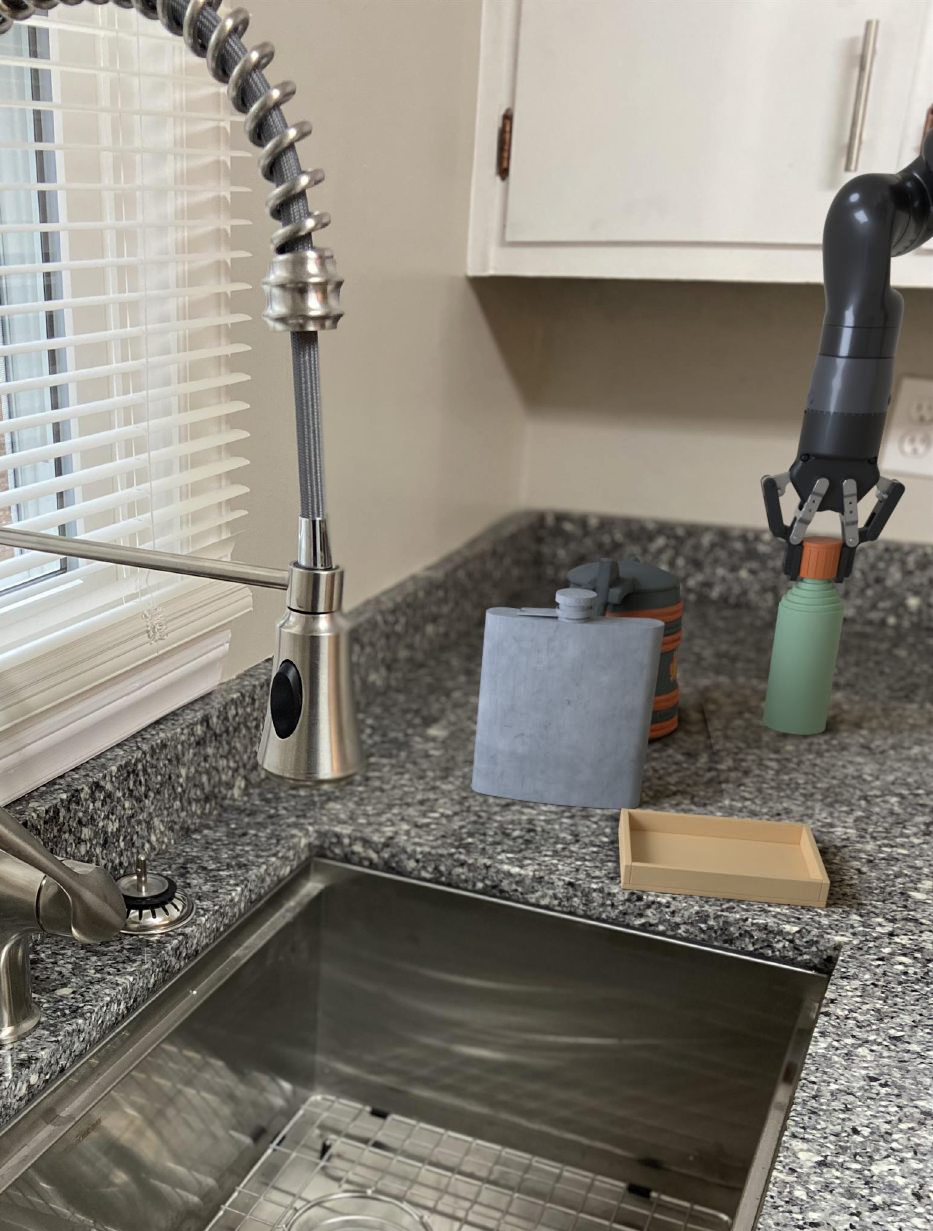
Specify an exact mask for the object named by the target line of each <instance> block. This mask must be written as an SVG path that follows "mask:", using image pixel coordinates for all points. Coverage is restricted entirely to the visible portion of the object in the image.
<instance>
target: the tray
mask: <svg viewBox="0 0 933 1231" xmlns="http://www.w3.org/2000/svg"><path fill="white" fill-rule="evenodd" d="M617 832H618V846H619V847H618V848H619V867H620V868H619V869H620V886H621V889H622V890H631V891H641V892H650V893H651V892H653V893H664V894H673V895H684V896H693V897H705V898H716V899H725V900H737V901H747V902H757V903H766V904H767V903H768V904H777V905H779V904H780V905H788V904H790V906H801V907H809V906H811V908H821V909H825V908H826V906H827V902H828V897H829V891H830V887H831V881H830V878H829V875H828V872H827V870H826V867H825V864H824V861H823V859H822V855H821V852H820V851H819V848H818V845H817V842H816V839H815V836H814V834H813V831H812V827H811V826H810V824H809V823H801V822H787V821H777V820H763V819H754V818H741V817H730V816H718V815H707V814H706V815H705V814H697V813H695V814H693V813H683V812H671V811H659V810H646V809H636V808H633V809H624V808H622V809H620V817H619V825H618V830H617Z"/></svg>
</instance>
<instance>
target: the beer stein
mask: <svg viewBox="0 0 933 1231" xmlns="http://www.w3.org/2000/svg"><path fill="white" fill-rule="evenodd" d="M566 578H567V580H568V581H569V582H570V585H569V588H578V589H586V590H591V591H594V592H595V593H597V600H596V604H594V605H591V606H592V607H593V610H592V615H591V616H605V617H627V618H651V619H656V620H660V621H662V622H664V624H665V626H664V633H663V640H662V647H661V654H660V661H659V668H658V675H657V682H656V689H655V696H654V703H653V710H652V717H651V724H650V731H649V738H648V742H650V741H655V740H658V739H660V738H663V737H665V736H667V735H670V733H672V732H674V730H675V729H677V727H678V723H679V721H678V716H679V714H678V710H679V709H678V708H679V701H680V700H679V699H680V684H679V683H678V681H677V680H678V678H677V677H678V655H679V654H678V653H679V652H678V651H679V646H680V645H681V644H682V640H683V638H682V634H683V628H682V626H683V623H682V622H683V607H684V601H683V599H682V598H681V582H680V580H679V577H677V576H676V575H674V574H673V573H671V572H669V571H667V570H665V569H663V568H660V567H657V566H656V565H652V564H649V563H644V562H641V560H640V559H639V557H638V556H635V555H634V556H632V557H631V558H630V559H628V560H616V559H613V558H609V557H602V558H600V560H599V561H594V562H589V563H585V564H582V565H581V564H580V565H579V566H576V567H574V568H572V569H570V570H569V571H568V572H566Z"/></svg>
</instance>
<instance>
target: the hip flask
mask: <svg viewBox="0 0 933 1231" xmlns="http://www.w3.org/2000/svg"><path fill="white" fill-rule="evenodd" d="M596 600H597V593H595V592H594V591H591V590H586V589H578V588H570V587H568V588H561V589H557V591H556V593H555V602H556V603H558V604H559V605H556V607H555V608H548V607H547V608H545V607H543V608H542V607H521V608H513V607H508V606H507V607H506V606H494V607H491V608H487V609H486V611H485V620H484V621H485V622H484V623H485V624H484V633H483V635H484V636H483V647H482V657H481V658H482V659H481V671H480V682H479V695H478V705H477V719H476V728H475V729H476V731H475V741H474V742H475V743H474V754H473V766H472V777H471V778H472V779H471V789H472V790H473V791H474V792H476V793H477V794H482V795H486V796H491V797H496V798H497V797H498V798H504V799H510V800H517V801H522V802H528V803H530V802H531V803H538V804H546V805H547V804H548V805H555V806H567V807H577V808H590V809H591V808H592V809H606V810H607V809H608V810H609V809H610V810H621V809H622V808H624V809H636V808H638V807H639V806H640V800H641V795H642V787H643V780H644V772H645V766H646V758H647V752H648V745H649V741H648V738H649V731H650V724H651V717H652V710H653V703H654V696H655V689H656V682H657V675H658V668H659V661H660V654H661V647H662V640H663V633H664V626H665V624H664V622H662V621H660V620H656V619H651V618H627V617H605V616H591V615H592V610H593V607H592V606H591V605H594V604H596Z"/></svg>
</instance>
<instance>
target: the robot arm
mask: <svg viewBox="0 0 933 1231" xmlns="http://www.w3.org/2000/svg"><path fill="white" fill-rule="evenodd" d="M921 147H922V148H921V153H920V154H919V155H917V157H916V158H915V159H913V160H912V161H911V162H910V163H909V164H908V165H906V166H905V167H904V168H902V169H901V170H899V171H898V172H896V173H883V172H882V173H881V172H869V173H867V172H866V173H863V174H859V175H857V176H855V177H853V178H851V179H850V180H848V181H847V182H846V183H844V184H843V185H842V186H841V187H840V189H839V190H838V191H837V193H836V194H835V196H834V197H833V199H832V201H831V203H830V206H829V207H828V210H827V213H826V216H825V220H824V224H823V231H822V244H821V246H822V248H821V250H822V252H821V253H822V276H823V292H824V301H825V308H824V314H823V318H822V324H821V330H820V336H819V341H818V346H817V353H816V357H815V361H814V364H813V368H812V370H811V374H810V378H809V382H808V388H807V393H806V394H807V395H806V400H805V405H804V411H803V417H802V423H801V429H800V434H799V440H798V445H797V452H796V457H795V459H794V461H793V463H792V464H791V465H790V467H789V469H788V471H784V472H781V473H778V474H774V475H770V474H764V475H763V476H762V477H761V479H760V487H761V492H762V498H763V504H764V508H765V513H766V519H767V525H768V530H769V531H770V533H771V535H772V536H773V537H775V538H779V539H782V540H784V541H785V546H784V551H783V558H782V563H781V569H782V573H783V574H784V576H786V579H787V580H788V581H789V582H798V578H799V576H798V572H799V566H800V561H801V555H802V549H803V545H802V544H801V541H802V538H804V536H805V534H806V532H807V529H808V527H809V525H810V524H811V523H812V521H813V519H814V518H815V515H816V513H823V512H827V511H831V512H833V513H837V514H838V517H839V521H840V533H841V540H842V541H843V543H842V550H841V555H840V561H839V566H838V572H837V577H835V578H831V579H832V581H833V583H834V584H843V583H844V580H845V579H849V577H850V576H851V575H852V572H853V568H854V567H853V566H854V563H855V562H854V561H855V557H856V552H857V548H858V547H859V545H861V544H864V543H867V542H875V541H876V540H878V539H879V537H880V536H881V533H882V532H883V530H884V528H885V526H886V525H887V524H888V521H889V520H890V518H891V516H892V514H894V511H895V510H896V508H897V506H898V504H899V502H900V501H901V499H902V497H903V495H904V494H905V492H906V486H905V485H904V483H902V482H901V481H900V480H898V479H896V478H893V479H890V478H888V477H886V476H883V475H881V471H880V469H879V465H878V460H879V455H880V450H881V447H882V446H881V445H882V440H883V435H884V430H885V425H886V419H887V415H888V411H889V410H888V409H889V406H890V404H891V401H892V389H893V384H894V376H895V375H894V374H895V373H894V372H895V361H896V357H895V356H896V354H897V349H898V345H899V340H900V335H901V329H902V325H903V319H904V310H905V300H904V297H903V295H902V293H900V292H899V291H898V290H897V289H895V288H893V287H892V286H891V273H892V272H891V269H892V268H891V267H892V258H897V257H901V256H905V255H907V254H909V253H911V252H913V251H914V250H915V251H916V249H918V248H919V247H921V246H922V245H924V244H925V243H927V242H928V241H930V240H931V239H932V238H933V126H932V127H931V128H929V130H928V132H927V133H926V135H925V137H924V139H923V141H922V146H921ZM790 483H791V486H792V487H793V489H794V490H795V492H796V494H797V496H798V498H799V501H798V503H797V505H796V507H795V509H794V511H793V515H792V516H793V517H792V519H791V521H790V523H789V525H788V524H785V523H784V518H783V513H782V506H781V501H780V498H781V497H783V496H784V495H785V494H786V487H787V485H788V484H790ZM875 486H876V491H875V498H877V501H876V503H875V505H874V507H873V508H872V510H871V512H870V514H869V515H868V517H867V519H866V520H865V522H864V524H863V526H861V527H859V510H858V508H859V507H858V504H859V503H860V502H861V501H862V500H863V499H864V497H866V496H867V494H868V493H870V491H871V490H872V489H873V488H874V487H875Z"/></svg>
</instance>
